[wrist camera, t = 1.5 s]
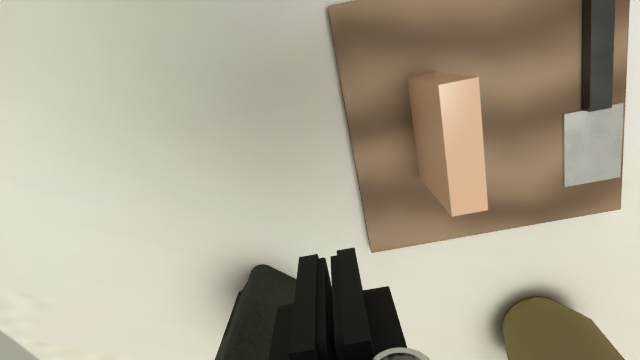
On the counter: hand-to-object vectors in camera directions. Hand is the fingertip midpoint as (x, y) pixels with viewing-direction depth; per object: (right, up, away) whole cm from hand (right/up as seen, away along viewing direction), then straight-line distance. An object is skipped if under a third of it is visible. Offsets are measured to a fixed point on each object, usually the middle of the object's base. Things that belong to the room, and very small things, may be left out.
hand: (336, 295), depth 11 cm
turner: (+20, +11, +17) cm, 28 cm away
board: (+12, +9, +19) cm, 24 cm away
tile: (+8, +8, +18) cm, 21 cm away
